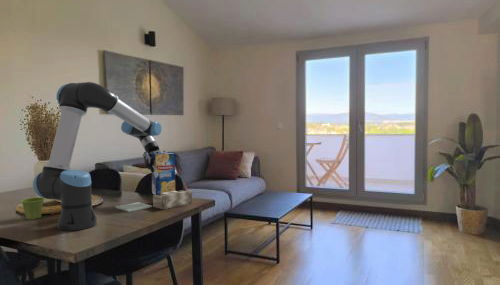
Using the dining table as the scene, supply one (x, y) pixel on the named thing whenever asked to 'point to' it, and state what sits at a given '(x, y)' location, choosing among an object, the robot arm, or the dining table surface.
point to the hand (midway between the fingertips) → (166, 175)
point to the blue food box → (163, 173)
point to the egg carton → (172, 200)
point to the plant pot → (33, 207)
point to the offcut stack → (168, 193)
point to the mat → (133, 206)
